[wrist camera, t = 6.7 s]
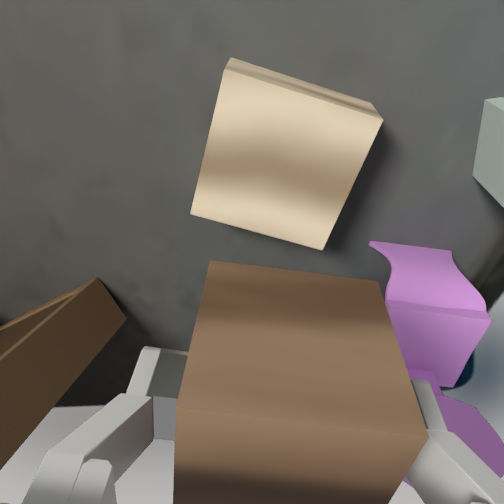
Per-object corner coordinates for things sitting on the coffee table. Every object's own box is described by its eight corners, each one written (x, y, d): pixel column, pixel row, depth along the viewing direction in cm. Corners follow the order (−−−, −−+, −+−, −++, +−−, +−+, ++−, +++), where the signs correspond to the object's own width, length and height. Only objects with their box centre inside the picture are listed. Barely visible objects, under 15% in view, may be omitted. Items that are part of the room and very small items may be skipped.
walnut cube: (210, 260, 12) (175, 407, 8) (377, 281, 12) (429, 437, 8) (201, 372, 15) (172, 525, 11) (338, 389, 15) (361, 546, 11)
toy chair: (466, 246, 31) (593, 427, 19) (426, 330, 36) (505, 517, 24) (357, 233, 31) (412, 406, 19) (332, 319, 36) (361, 502, 24)
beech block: (231, 56, 25) (224, 68, 22) (369, 101, 26) (383, 119, 23) (199, 187, 30) (190, 213, 27) (317, 220, 31) (322, 250, 28)
